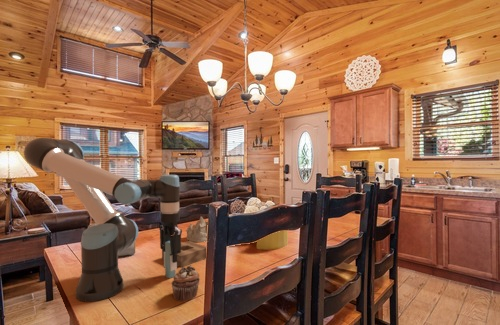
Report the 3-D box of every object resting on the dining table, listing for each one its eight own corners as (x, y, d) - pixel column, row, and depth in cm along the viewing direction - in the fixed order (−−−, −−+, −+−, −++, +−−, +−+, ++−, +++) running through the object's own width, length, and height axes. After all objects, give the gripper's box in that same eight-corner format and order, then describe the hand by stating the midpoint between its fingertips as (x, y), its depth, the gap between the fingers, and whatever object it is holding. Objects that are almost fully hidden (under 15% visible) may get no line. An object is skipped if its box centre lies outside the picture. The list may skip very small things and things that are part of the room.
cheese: (240, 248, 144) (240, 221, 144) (246, 235, 170) (246, 212, 170) (288, 250, 141) (288, 222, 141) (287, 236, 167) (287, 212, 167)
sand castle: (219, 238, 163) (217, 213, 163) (195, 244, 152) (194, 218, 152) (206, 234, 175) (204, 211, 175) (183, 240, 164) (181, 216, 164)
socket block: (181, 267, 119) (181, 256, 119) (162, 258, 129) (161, 248, 129) (208, 257, 131) (208, 247, 131) (189, 250, 141) (189, 241, 141)
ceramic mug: (135, 255, 133) (135, 240, 133) (117, 258, 130) (117, 242, 130) (134, 250, 143) (134, 235, 143) (117, 252, 139) (117, 237, 139)
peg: (168, 278, 107) (168, 244, 107) (163, 275, 110) (163, 242, 110) (177, 275, 110) (177, 241, 110) (171, 272, 113) (171, 240, 113)
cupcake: (190, 286, 101) (190, 260, 101) (204, 295, 94) (204, 267, 94) (166, 295, 94) (166, 266, 94) (179, 305, 87) (179, 275, 87)
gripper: (190, 213, 107) (190, 271, 107) (166, 208, 118) (167, 260, 118) (173, 216, 102) (174, 277, 102) (151, 210, 113) (151, 265, 113)
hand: (170, 268), depth 110 cm, fingers closed on peg, 4 cm apart
